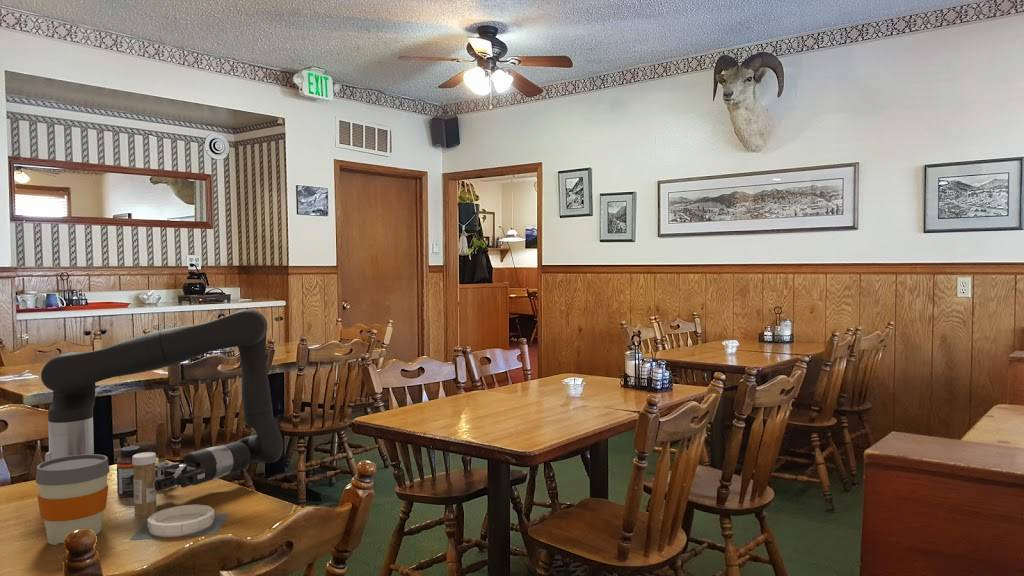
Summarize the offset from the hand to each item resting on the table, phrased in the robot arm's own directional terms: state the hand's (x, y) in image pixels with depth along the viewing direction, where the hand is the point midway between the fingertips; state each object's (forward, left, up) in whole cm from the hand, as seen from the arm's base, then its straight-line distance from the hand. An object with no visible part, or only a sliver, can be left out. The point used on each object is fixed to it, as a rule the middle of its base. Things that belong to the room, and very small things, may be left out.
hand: (143, 483), depth 150 cm
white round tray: (+10, -10, -7) cm, 16 cm away
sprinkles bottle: (0, 0, -7) cm, 7 cm away
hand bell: (-3, +22, -8) cm, 24 cm away
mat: (+10, -10, -7) cm, 16 cm away
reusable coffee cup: (-10, -10, -7) cm, 16 cm away
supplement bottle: (-8, +16, -7) cm, 19 cm away
